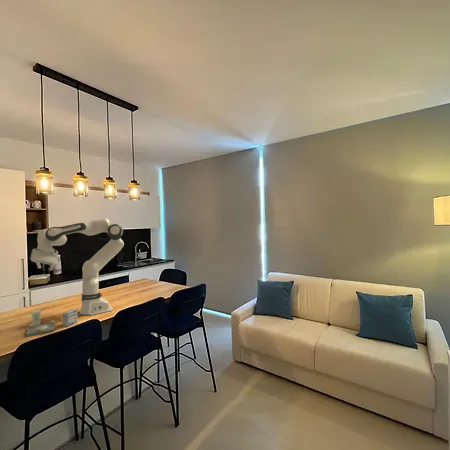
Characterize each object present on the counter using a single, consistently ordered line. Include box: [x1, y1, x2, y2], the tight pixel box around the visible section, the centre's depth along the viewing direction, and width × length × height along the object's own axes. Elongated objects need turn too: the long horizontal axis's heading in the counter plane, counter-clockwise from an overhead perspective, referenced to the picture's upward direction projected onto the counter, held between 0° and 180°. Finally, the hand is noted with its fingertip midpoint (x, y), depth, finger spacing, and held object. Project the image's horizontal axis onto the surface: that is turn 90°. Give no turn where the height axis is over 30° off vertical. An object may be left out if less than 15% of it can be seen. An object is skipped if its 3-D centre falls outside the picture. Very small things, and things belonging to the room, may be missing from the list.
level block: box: [31, 309, 42, 326], centre depth 172 cm, size 4×5×8 cm
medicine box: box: [62, 309, 78, 328], centre depth 171 cm, size 8×4×9 cm, turn 170°
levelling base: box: [25, 319, 56, 338], centre depth 161 cm, size 14×14×3 cm
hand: (45, 269), depth 181 cm, fingers open, 8 cm apart
